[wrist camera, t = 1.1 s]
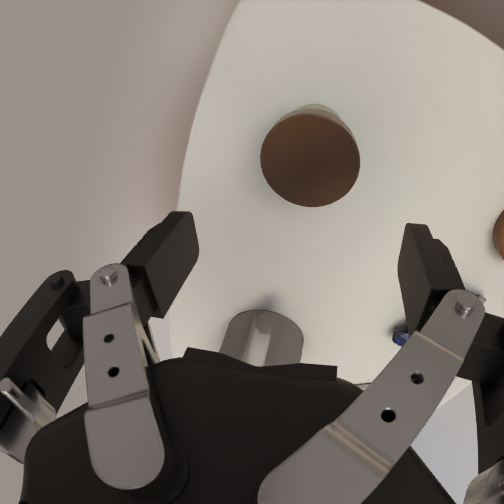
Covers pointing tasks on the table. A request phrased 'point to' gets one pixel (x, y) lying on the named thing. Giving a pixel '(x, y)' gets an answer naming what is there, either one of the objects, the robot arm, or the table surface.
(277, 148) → the walnut chip
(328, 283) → the table surface
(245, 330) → the coffee mug
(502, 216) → the oak chip
